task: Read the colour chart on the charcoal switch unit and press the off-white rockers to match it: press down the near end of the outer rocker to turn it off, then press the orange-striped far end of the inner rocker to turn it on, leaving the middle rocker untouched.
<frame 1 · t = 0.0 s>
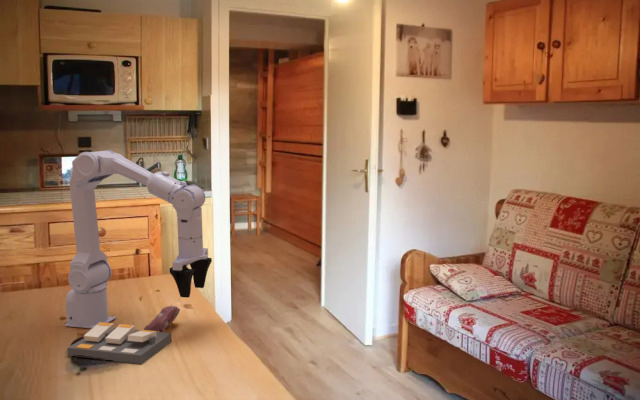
hand: (192, 292, 138), 10 cm above the table, fingers open, 7 cm apart
switch unit: (121, 348, 129), on the table
video game controller: (163, 330, 141), on the table
rocker 2: (120, 333, 129), point 4 cm above the table, hinge at 10.0°
rocker 3: (142, 335, 127), point 4 cm above the table, hinge at -10.0°
rocker 1: (99, 331, 130), point 4 cm above the table, hinge at 10.0°
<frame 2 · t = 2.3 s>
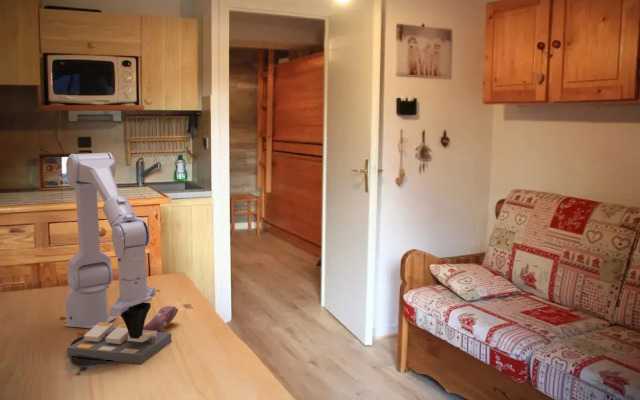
hand: (135, 337, 125), 4 cm above the table, fingers closed, pressing on rocker 3
rocker 3: (142, 335, 127), point 4 cm above the table, hinge at -10.0°, touching gripper
everything else where it was.
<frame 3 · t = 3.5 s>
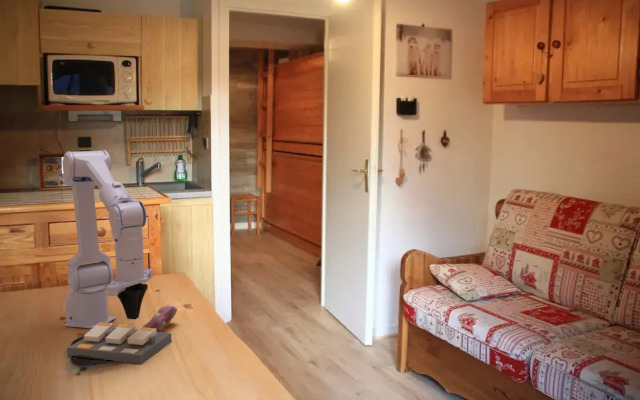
hand: (132, 318, 125), 8 cm above the table, fingers closed
rocker 3: (142, 335, 127), point 4 cm above the table, hinge at 3.0°
everything else where it was.
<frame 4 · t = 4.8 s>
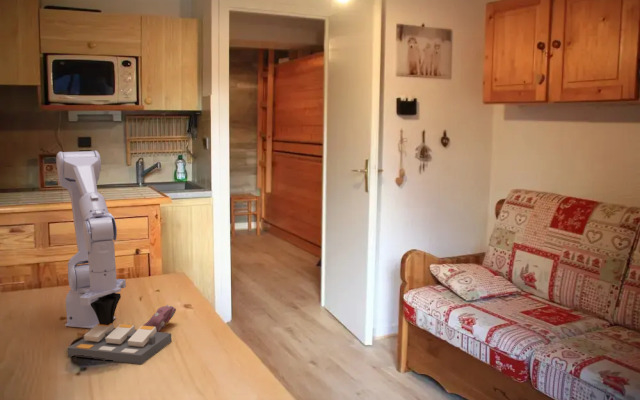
hand: (106, 326, 133), 4 cm above the table, fingers closed, pressing on rocker 1
rocker 3: (142, 335, 127), point 4 cm above the table, hinge at 13.0°
rocker 1: (99, 331, 130), point 4 cm above the table, hinge at 9.4°, touching gripper
everything else where it was.
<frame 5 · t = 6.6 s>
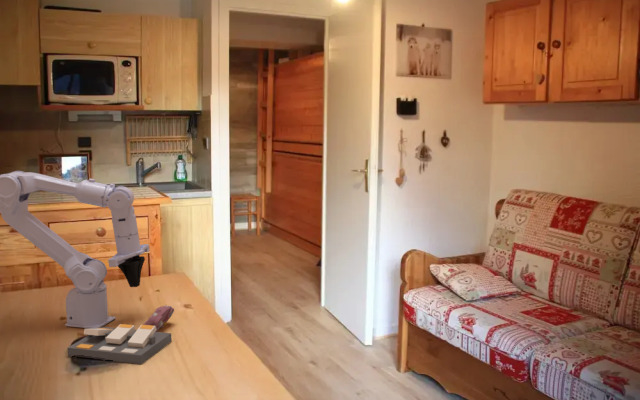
hand: (134, 286, 146), 9 cm above the table, fingers closed
rocker 3: (142, 335, 127), point 4 cm above the table, hinge at 18.9°, touching switch unit
rocker 1: (99, 331, 130), point 4 cm above the table, hinge at -19.4°, touching switch unit
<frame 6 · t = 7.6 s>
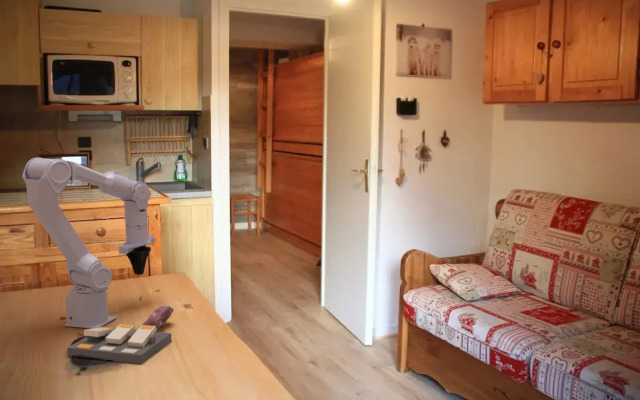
hand: (139, 274, 157), 9 cm above the table, fingers closed
rocker 3: (142, 335, 127), point 4 cm above the table, hinge at 17.3°
rocker 1: (99, 331, 130), point 4 cm above the table, hinge at -14.0°
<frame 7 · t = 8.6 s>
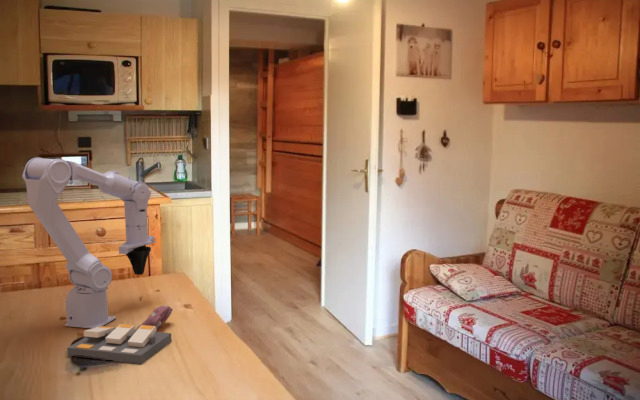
hand: (139, 274, 157), 9 cm above the table, fingers closed
rocker 3: (142, 335, 127), point 4 cm above the table, hinge at 16.2°
rocker 1: (99, 331, 130), point 4 cm above the table, hinge at -10.4°
at the end: rocker 1 at -10° (first picture: +10°); rocker 2 at +10° (first picture: +10°); rocker 3 at +16° (first picture: -10°) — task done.
